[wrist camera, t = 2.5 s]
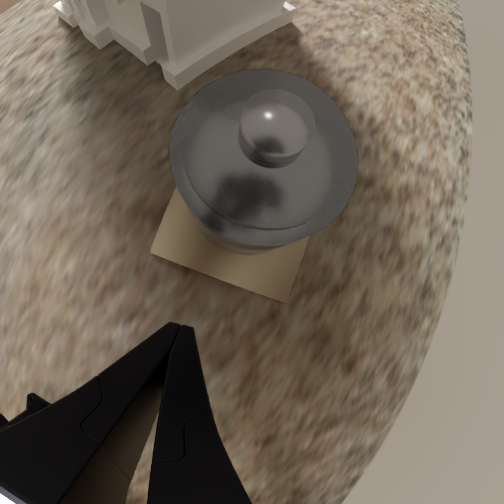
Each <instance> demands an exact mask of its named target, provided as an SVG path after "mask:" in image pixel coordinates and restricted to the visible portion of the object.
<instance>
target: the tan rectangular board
mask: <svg viewBox="0 0 504 504" xmlns="http://www.w3.org/2000/svg"><path fill="white" fill-rule="evenodd" d="M309 238H310V236H309V237H306V238H304V239H301V240H298V241H296V242H293V243H290V244H287V245H285V246H282V247H279V248H276V249H273V250H271V251H268V252H265V253H261V254H254V255H243V254H237V253H233V252H229V251H227V250H224V249H222V248H220V247H219V246H217V245H215V244H214V243H213V242H211V241H210V240H209V239H208V238H207V237H206V236H205V235H204V234H203V233H202V231H201V230H200V228H199V227H198V225H197V223H196V222H195V220H194V218H193V216H192V214H191V213H190V211H189V209H188V207H187V205H186V204H185V202H184V200H183V198H182V196H181V194H180V192H179V190H178V188H177V186H176V188H175V190H174V192H173V195H172V197H171V199H170V202H169V204H168V207H167V209H166V211H165V214H164V216H163V219H162V221H161V224H160V226H159V229H158V232H157V234H156V237H155V239H154V242H153V245H152V247H151V250H150V253H152V254H154V255H157V256H159V257H162V258H164V259H167V260H170V261H172V262H175V263H177V264H180V265H182V266H185V267H188V268H190V269H193V270H195V271H198V272H201V273H203V274H206V275H209V276H211V277H214V278H217V279H219V280H222V281H225V282H227V283H230V284H233V285H235V286H238V287H241V288H244V289H246V290H249V291H252V292H255V293H257V294H260V295H263V296H266V297H269V298H272V299H274V300H277V301H280V302H283V303H287V301H288V298H289V295H290V292H291V290H292V287H293V284H294V281H295V278H296V276H297V273H298V270H299V267H300V264H301V261H302V259H303V256H304V253H305V250H306V247H307V244H308V241H309Z"/></svg>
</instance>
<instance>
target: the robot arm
mask: <svg viewBox="0 0 504 504" xmlns="http://www.w3.org/2000/svg"><path fill="white" fill-rule="evenodd" d="M32 398H33V399H34V400H33V399H32ZM158 411H159V416H158V422H157V428H156V435H155V442H154V449H153V456H152V464H151V472H150V480H149V489H148V498H147V504H252V502H251V501H250V499H249V497H248V495H247V493H246V491H245V489H244V487H243V485H242V483H241V481H240V479H239V477H238V475H237V473H236V471H235V469H234V467H233V465H232V463H231V461H230V459H229V456H228V454H227V452H226V450H225V448H224V446H223V443H222V441H221V438H220V436H219V433H218V430H217V427H216V424H215V420H214V417H213V413H212V409H211V407H210V402H209V397H208V393H207V389H206V384H205V380H204V375H203V371H202V366H201V361H200V357H199V352H198V347H197V342H196V337H195V331H194V328H193V327H191V326H186V325H182V326H181V325H180V324H178V323H173V322H169V323H167V324H166V325H164V326H163V327H162V328H160V329H159V330H158V331H156V332H155V333H154V334H152V335H151V336H150V337H148V338H147V339H146V340H144V341H143V342H142V343H140V344H139V345H138V346H136V347H135V348H134V349H132V350H131V351H129V352H128V353H127V354H125V355H124V356H123V357H121V358H120V359H119V360H117V361H116V362H115V363H113V364H112V365H111V366H109V367H108V368H107V369H105V370H104V371H103V372H101V373H100V374H98V376H95V377H94V378H93V379H91V380H90V381H88V382H87V383H86V384H84V385H83V386H81V387H80V388H78V389H77V390H75V391H74V392H72V393H70V394H69V395H67V396H65V397H64V398H62V399H60V400H58V401H56V402H55V403H53V404H50V403H48V402H47V401H45V400H44V399H42V398H41V397H39V396H37V395H36V394H34V393H30V394H28V395H27V406H26V410H25V411H23V412H22V413H21V414H19V415H18V416H16V417H15V418H14V419H12V420H11V421H8V420H7V419H6V418H5V417H4V416H3V415H2V414H1V413H0V504H125V503H126V497H127V492H128V489H129V486H130V483H131V480H132V478H133V475H134V472H135V470H136V467H137V465H138V462H139V459H140V457H141V454H142V452H143V449H144V447H145V444H146V442H147V439H148V436H149V434H150V431H151V429H152V426H153V424H154V421H155V419H156V416H157V414H158Z"/></svg>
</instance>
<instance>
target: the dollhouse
mask: <svg viewBox="0 0 504 504" xmlns="http://www.w3.org/2000/svg"><path fill="white" fill-rule="evenodd" d="M53 7H54V9H55V11H56V13H57V14H58V16H59V17H60V18H62V19H63V20H64V21H65V22H67V23H68V24H69V25H70V26H72V27H73V28H75V27H76V26H78V25H79V26H80V28H81V30H82V32H83V34H84V36H85V38H87V39H88V40H89V41H90V42H92V43H93V44H94V45H95V46H96V47H98V48H99V49H100V50H101V49H102V48H103V47H105V46H106V45H108V44H109V43H110V42H112V41H113V40H115V41H117V42H118V43H119V44H121V45H122V46H123V47H124V48H126V49H127V50H128V51H130V52H131V53H132V54H133V55H135V56H136V57H137V58H139V59H140V60H141V61H142V62H144V63H145V64H146V65H147V66H148V65H150V64H151V63H153V62H154V61H156V62H157V63H158V64H160V65H161V66H162V70H163V74H164V78H165V80H166V81H167V82H168V83H169V84H170V85H172V86H173V87H174V88H175V89H176V90H177V91H178V90H179V89H181V88H182V87H184V86H185V85H186V84H188V83H189V82H191V81H192V80H193V79H195V78H196V77H198V76H199V75H201V74H202V73H204V72H205V71H207V70H208V69H210V68H211V67H213V66H214V65H216V64H217V63H219V62H220V61H222V60H224V59H225V58H227V57H228V56H230V55H232V54H233V53H235V52H237V51H238V50H240V49H242V48H243V47H245V46H247V45H249V44H250V43H252V42H254V41H256V40H258V39H259V38H261V37H263V36H265V35H267V34H269V33H271V32H272V31H274V30H276V29H278V28H280V27H282V26H284V25H286V24H288V23H291V22H292V19H293V16H294V13H295V10H296V8H295V7H293V6H292V5H290V4H288V3H287V2H285V0H60V1H59V2H57V3H56V4H55V5H53Z"/></svg>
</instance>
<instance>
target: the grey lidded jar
mask: <svg viewBox="0 0 504 504" xmlns="http://www.w3.org/2000/svg"><path fill="white" fill-rule="evenodd" d="M169 161H170V167H171V173H172V176H173V179H174V182H175V184H176V186H177V188H178V190H179V192H180V194H181V196H182V198H183V200H184V202H185V204H186V205H187V207H188V209H189V211H190V213H191V214H192V216H193V218H194V220H195V222H196V223H197V225H198V227H199V228H200V230H201V231H202V233H203V234H204V235H205V236H206V237H207V238H208V239H209V240H210V241H211V242H213V243H214V244H215V245H217V246H219V247H220V248H222V249H224V250H227V251H229V252H233V253H237V254H243V255H254V254H261V253H265V252H268V251H271V250H273V249H276V248H279V247H282V246H285V245H287V244H290V243H293V242H296V241H298V240H301V239H304V238H306V237H309V236H311V235H313V234H315V233H317V232H319V231H320V230H322V229H323V228H325V227H326V226H327V225H329V224H330V223H331V222H332V221H333V220H334V219H335V218H336V217H337V216H338V215H339V214H340V213H341V212H342V210H343V209H344V208H345V206H346V205H347V203H348V201H349V199H350V197H351V195H352V193H353V190H354V187H355V185H356V180H357V175H358V151H357V147H356V142H355V139H354V136H353V133H352V130H351V128H350V125H349V123H348V121H347V119H346V117H345V115H344V114H343V112H342V111H341V109H340V108H339V106H338V105H337V104H336V103H335V102H334V100H333V99H332V98H331V97H330V96H329V95H328V94H327V93H325V92H324V91H323V90H322V89H320V88H319V87H318V86H316V85H315V84H313V83H311V82H310V81H308V80H306V79H304V78H302V77H300V76H297V75H294V74H291V73H288V72H284V71H280V70H273V69H250V70H243V71H239V72H235V73H232V74H229V75H226V76H224V77H222V78H220V79H218V80H216V81H214V82H212V83H210V84H208V85H207V86H205V87H204V88H203V89H201V90H200V91H199V92H197V93H196V94H195V95H194V96H193V97H192V98H191V99H190V100H189V101H188V103H187V104H186V105H185V106H184V108H183V109H182V111H181V112H180V114H179V116H178V118H177V120H176V122H175V124H174V127H173V130H172V134H171V138H170V146H169Z"/></svg>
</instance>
